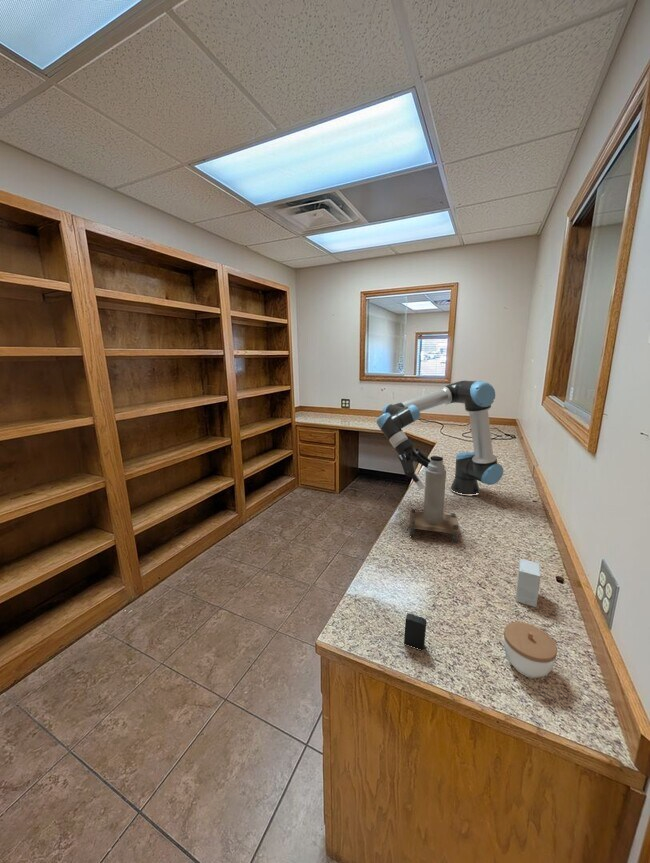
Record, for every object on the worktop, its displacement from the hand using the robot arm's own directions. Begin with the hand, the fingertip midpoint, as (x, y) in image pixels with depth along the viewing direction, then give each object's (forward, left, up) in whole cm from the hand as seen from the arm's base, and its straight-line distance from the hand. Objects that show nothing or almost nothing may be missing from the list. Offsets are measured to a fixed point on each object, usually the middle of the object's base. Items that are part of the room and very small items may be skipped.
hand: (431, 483), depth 138 cm
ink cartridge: (+4, +63, -22) cm, 67 cm away
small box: (-29, +35, -22) cm, 50 cm away
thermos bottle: (-2, +1, -16) cm, 16 cm away
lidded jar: (-22, +62, -22) cm, 69 cm away
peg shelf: (-2, +1, -22) cm, 22 cm away
